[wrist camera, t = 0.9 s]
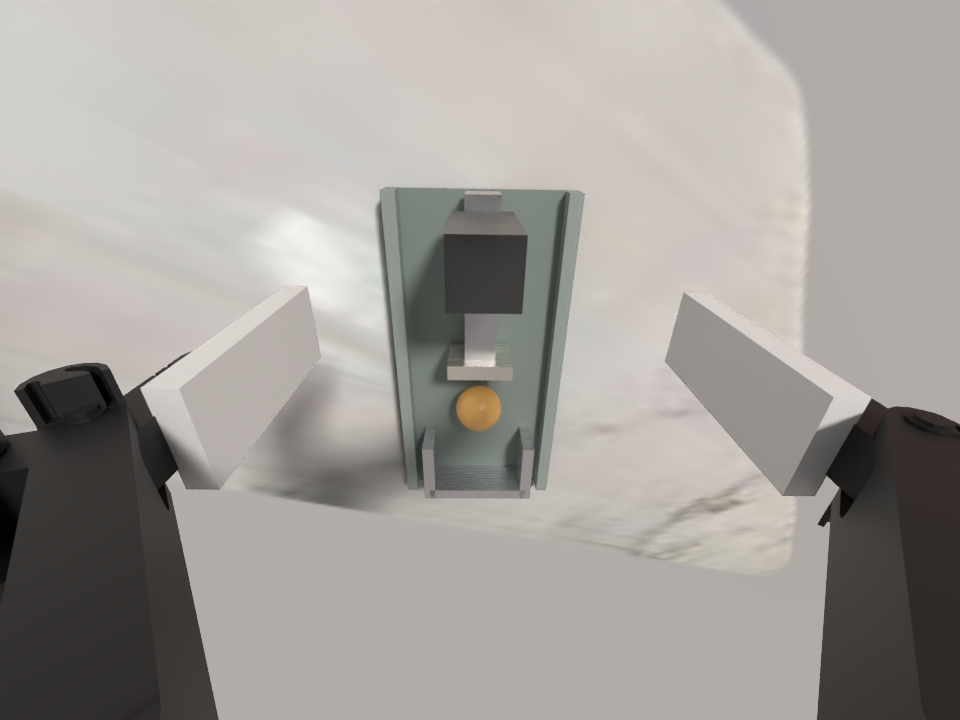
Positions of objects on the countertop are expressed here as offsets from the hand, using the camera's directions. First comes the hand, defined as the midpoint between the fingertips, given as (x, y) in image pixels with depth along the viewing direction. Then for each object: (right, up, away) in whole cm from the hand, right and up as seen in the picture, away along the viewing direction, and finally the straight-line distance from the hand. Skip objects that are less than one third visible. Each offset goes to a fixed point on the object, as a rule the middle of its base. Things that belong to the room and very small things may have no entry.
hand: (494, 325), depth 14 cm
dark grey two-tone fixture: (0, +5, +17) cm, 17 cm away
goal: (-1, -10, +26) cm, 28 cm away
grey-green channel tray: (-1, -1, +21) cm, 21 cm away
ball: (-1, -5, +20) cm, 21 cm away
